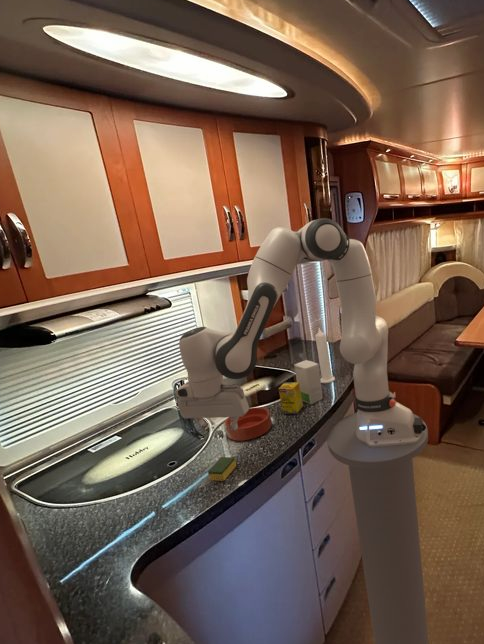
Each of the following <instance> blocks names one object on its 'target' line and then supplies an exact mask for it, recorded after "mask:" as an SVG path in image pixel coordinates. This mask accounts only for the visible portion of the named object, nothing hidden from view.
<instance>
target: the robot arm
mask: <svg viewBox="0 0 484 644" xmlns="http://www.w3.org/2000/svg"><path fill="white" fill-rule="evenodd" d="M301 260H308V261H317V262H319V261H322V262H323V261H325V260H326V261H328V262H329V263H330V265H331V267H332V269H333V272H334V273H333V274H334V278H335V284H336V288H337V293H338V298H339V303H340V318H341V321H340V322H341V324H340V325H341V328H340V329H341V337H340V342H339V352H340V355H341V356H342V359H344V360H345V361H346V362H348V363H350V364H351V365H353V371H352V378H353V386H354V393H355V395H354V404H355V405H354V407H355V411H356V412H357V430H356V436H357V438H358V439H359V440H361V441H363V442H365V443H366V444H367V445H368V446H369V447H383V446H394V445H405V444H415V443H417V442H418V441H419V440H420V439H421V437H422V433H423V431H424V430H425V429H426V426H427V425H426V426H425V425H424V424H423V421H424V420H423V417H420V418H414V415H413V414H414V413H413V411H412V410H411V408H409V407H407V406H405V405H403V404H401V403H400V402H398V401H397V397H396V391H394V392H392V391H390V387H389V379H388V353H389V352H388V350H389V349H388V347H389V343H388V342H389V340H388V339H389V325H388V323H387V321H386V320H385V319H384V318H383V317H381V316H379V315H376V309H377V307H376V306H377V295H376V289H375V283H374V278H373V272H372V267H371V264H370V260H369V256H368V254H367V251H366V248H365V246H364V244H363V242H361V241H360V240H357V239H355V238H349V236H348V235H347V234H346V233H345V231H344V230H343V228H342V227H341V226H340V224H339V223H338V222H337V221H335V220H333V219H331V218H326V217H321V218H317V219H313V220H311V221H309V222H308V223H306V224H305V225H304V226H302V227H301V228H299V229H298V230H296V231H293V230H292V229H290V228H287V227H283V226H277V227H275V228H273V229H272V230H271V231H270V232H269V233H268V235H267V236H266V237H265V239H264V240H263V242H262V243H261V245H260V247H259V249H258V250H257V252H256V254H255V256H254V258H253V260H252V262H251V265H250V268H249V271H248V273H247V274H248V275H247V278H246V284H247V302H246V306H245V309H244V310H243V313H242V316H241V317H240V320H239V322H238V324H237V327H236V329H235V331H233V332H230V331H219V330H214V329H211V328H209V327H207V326H200V327H199V326H198V327H194V328H192V329H190V330H188V331H186V332H185V333H183V334H182V335H181V337H180V339H179V341H178V347H179V352H180V357H181V361H182V365H183V367H184V369H185V370H186V372H187V382H186V383H183V385H181V386H179V387H178V388H177V389H175V390H174V394H175V396H176V397H177V400H176V402H177V403H176V404H177V408H178V411H179V414H180V416H181V417H182V418H183V419H194V422H195V423H196V424H197V425H198V426H199V427H200V430H201V432H207V431H208V430H209V429H210V426H209V422H206V421H205V420H204V419H209V418H210V419H211V418H229V417H230V418H231V420H233V422H232V423H231V424H230V425H229V427H230V430H236V429H237V428H238V425H237V421H238V418H239V417H243V416H244V415H245V414H246V413H247V412H248V410H249V408H250V406H249V402H248V400H247V397H246V394H245V391H244V388H243V387H241V386H240V385H238V384H237V383H232V384H228V383H227V384H226V383H225V380H224V377H225V378H227V379H230V380H240V379H243V378H246V377H247V376H249V375H250V374H251V373H252V372H254V370H255V368H256V366H257V362H258V345H259V343H260V340H261V337H262V335H263V334H264V331H265V328H266V326H267V323H268V321H269V319H270V316H271V314H272V312H273V310H274V308H275V305H276V304H277V302H279V301H278V300H279V299H280V297H281V296H282V295H283V292H284V291H285V289H286V287H287V285H288V284H289V282H290V280H291V278H292V276H293V274H294V271H295V269H296V268H297V267H296V266H297V265H299V263H300V262H301Z"/></svg>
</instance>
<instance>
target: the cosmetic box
mask: <svg viewBox="0 0 484 644" xmlns="http://www.w3.org/2000/svg"><path fill="white" fill-rule="evenodd" d="M293 366H294V374H295V380H296V383H297V382H299V386H300V392H301V398H302V402H304V403H306V404H309V405H313V404H316V403H317V402H320V401H321V400H323V399H324V397H323V389H322V383H321V381H320V379H321V372H320V364H319V363H317V362H314V361H312V360H308V359H305V360H302V361H300V362H297V363H295V364H294V365H293Z"/></svg>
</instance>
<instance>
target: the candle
mask: <svg viewBox="0 0 484 644" xmlns="http://www.w3.org/2000/svg"><path fill="white" fill-rule="evenodd" d="M317 329H318V331H317V332H316V334H315V336H314V337H315V342H316V349H317V356H318V364H319V370H320V376H321V377H320V381H321V384H330V383H333V382H334V381H335V380H336V377H335V376H334V375H332V370H331V368H332V367H331V363H330V355H329V349H328V343H327V342H328V341H327V336H326V333H325V332H323V331H322V329H321V327H318V328H317Z"/></svg>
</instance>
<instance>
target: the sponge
mask: <svg viewBox="0 0 484 644" xmlns="http://www.w3.org/2000/svg"><path fill="white" fill-rule="evenodd" d="M235 468H237V462H236V458H235V457H233V456H232V457H231V456H221V457H220V458H219V459H217V461H216V462H215V463H213V465H212V466H211V467H210V469H208V470H207V474H208V477H209V481H219V482H224V481H226V479H227V478H228V477H229V475H230V474H231V473H232V472H233V471H234V469H235Z"/></svg>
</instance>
